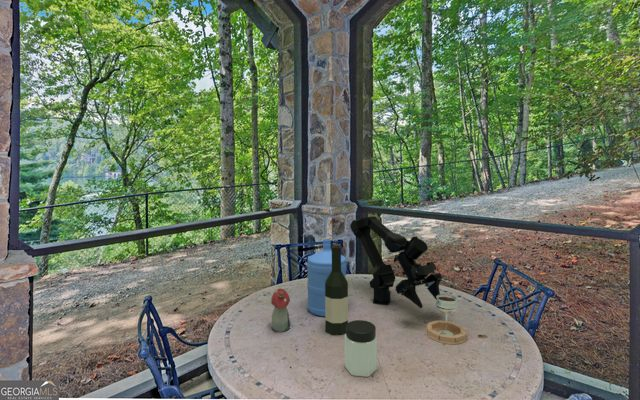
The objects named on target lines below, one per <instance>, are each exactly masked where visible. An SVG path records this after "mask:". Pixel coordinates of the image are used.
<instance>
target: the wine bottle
mask: <svg viewBox="0 0 640 400" xmlns="http://www.w3.org/2000/svg"><path fill="white" fill-rule="evenodd" d="M331 251H332V271H331V273H330V274H329V276H328V278H327V279H326V281H325V316H324V317H325V319H324V322H325V326H324V327H325V328H324V329H325V330H324V331H325V333H327V334H328V335H332V336H344V335H345V334H346V325H347V324H348V323H349V283H348V280H347V278H346V276H344V275H343V273H342V271H341V255H342V247H341V245H340V243H332V246H331Z"/></svg>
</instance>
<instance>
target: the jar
mask: <svg viewBox="0 0 640 400" xmlns="http://www.w3.org/2000/svg"><path fill="white" fill-rule="evenodd" d="M376 330H377V329H376V326H375V324H374V323H372V322H371V321H368V320H363V319H362V320H361V319H359V320H358V319H357V320H352V321H348V324H347V325H346V333H345V334H344V367H345V368H346V369H347V371H348V372H349V374H350V375H351V376H355V377H356V376H357V377H367V378H368V377H370V376H372V374H373V373H375V372H376V371H377V370H378V337H377V335H376V332H377V331H376Z"/></svg>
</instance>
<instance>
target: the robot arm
mask: <svg viewBox="0 0 640 400" xmlns="http://www.w3.org/2000/svg"><path fill="white" fill-rule="evenodd" d="M349 227H350V230H351V232H352V234H353V235H354V236H355V237H356V238H358V239H359V240H360V242H361V244H362V247H363V249H364V250H365V253H366V255H367V257H368V259H369V262H370V264H371V266H372V276H373V278H372V279H371V280H370V281H369V287H370V288H371V289H373V300H372V303H373V304H377V305H378V304H379V305H387V306H388V305H389V304H390V302H391V298H392V297H391V296H392V291H391V290H390V288H393V287H394V284H395V281H396V275H395V271H394V270H393V267H392V265H391V264H386V263H385V262H384V260H383V258H382V256H381V254H380V252H379V250H378V248H377V246H376V244H375V242H374V239H373V238H372V235H371V231H372V232H374V233H375V234H376V235H377V236H378V237H379V238H380V239H381V240H383V242H384V243H383V244H384V246H385V248H386V249H387V250H388V251H389V252H390V253H393V254H394V253H398V254H394V258H393V262H394V263H398V264H399V265H400V267H401V269H402V275H403V276H406V278H405V279H402V280H400V282H398V283H397V284H396V285H395V291H396V293H397V295H399V294H400V295H401V296H403V297H405V298H407V299H408V300H409V301H411V302H412V303H413V304H415V305H416V306H417V307H418V308H420V309H422V308H423V307H424V306H423V303H422V302H421V299H420V298H419V295H418V294H417V290H416V289H417V288H416V287H419V286H423V285H425V287H427V288H426V289H427V290H428V291H429V293H430V294H431V295H432V296H433V298H434V299H435V301H436V300H437V298H436V296H437V295H440V294H441V292H440V283H441V282H442V280H443V278H444V277H442V275H441V273H439V272H435V271H437V266H436V264H435V263H434V261H429V262H426V265H422V264H421V263H417V261H416V260H419V259H420V257H421V256H423V254H424V253H426V252H427V251H428V245H427V243H426V242H425V241H424V240H422V239H420V238H419V237H418V235H417V236H416V235H415V236H412V237H411V238H410V240H407V238H406V237H405V236H403V235H401V234H399V233H397V232H396V233H395V232H394V231H392V230H391V229H390V228H388V227H387V226H386V225H385V224H383V223H382V222H381V221H380V220H379V219H378V217H377V216H366V217H363V218H360V219H354V220H352V221H351V223H350V225H349Z"/></svg>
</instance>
